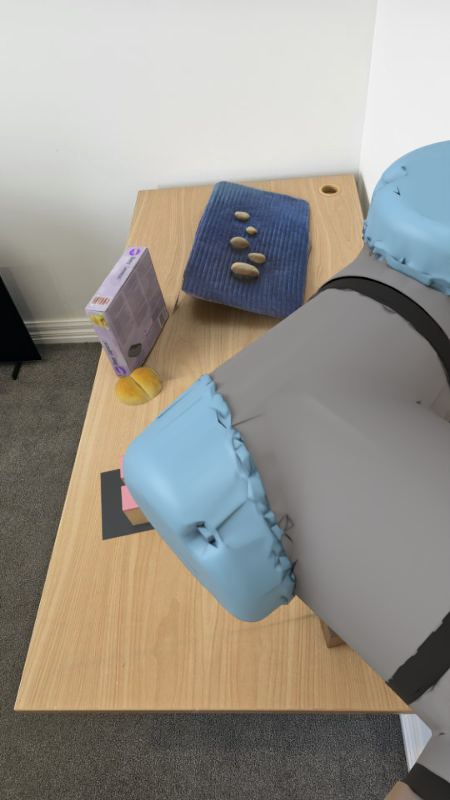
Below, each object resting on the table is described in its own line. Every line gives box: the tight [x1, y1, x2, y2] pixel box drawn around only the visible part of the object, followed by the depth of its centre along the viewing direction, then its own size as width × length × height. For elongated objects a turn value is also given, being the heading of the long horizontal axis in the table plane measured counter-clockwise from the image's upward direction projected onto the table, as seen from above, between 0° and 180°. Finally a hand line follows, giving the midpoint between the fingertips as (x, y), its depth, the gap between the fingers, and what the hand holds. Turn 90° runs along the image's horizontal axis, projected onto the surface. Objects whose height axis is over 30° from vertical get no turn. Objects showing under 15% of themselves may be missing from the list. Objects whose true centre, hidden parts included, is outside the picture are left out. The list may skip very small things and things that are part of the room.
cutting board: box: [99, 468, 155, 541], centre depth 82 cm, size 24×12×2 cm, turn 100°
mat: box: [171, 180, 313, 320], centre depth 114 cm, size 45×27×12 cm, turn 173°
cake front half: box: [121, 486, 149, 525], centre depth 77 cm, size 12×4×6 cm, turn 100°
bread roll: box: [114, 366, 163, 407], centre depth 94 cm, size 8×9×4 cm
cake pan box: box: [84, 245, 170, 377], centre depth 96 cm, size 19×5×18 cm, turn 162°
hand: (362, 552), depth 49 cm, fingers closed on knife, 2 cm apart
